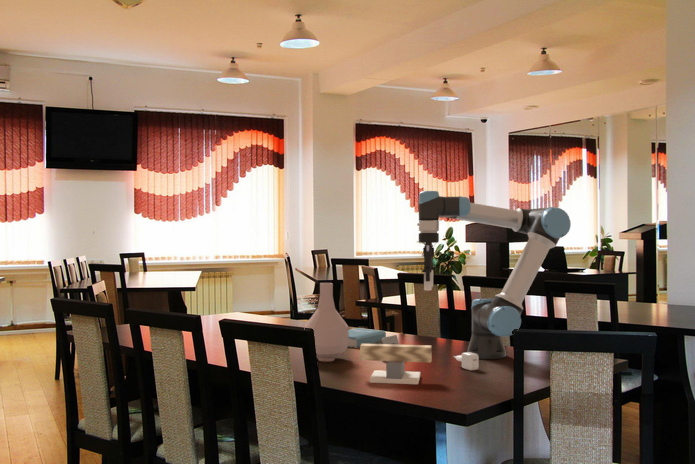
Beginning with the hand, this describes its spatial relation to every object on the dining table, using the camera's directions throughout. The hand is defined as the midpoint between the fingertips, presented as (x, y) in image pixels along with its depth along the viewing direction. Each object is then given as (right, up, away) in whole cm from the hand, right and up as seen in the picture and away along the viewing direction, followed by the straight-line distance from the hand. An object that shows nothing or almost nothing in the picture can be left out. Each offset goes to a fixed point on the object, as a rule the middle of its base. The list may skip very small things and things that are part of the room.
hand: (428, 288), depth 242 cm
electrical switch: (-14, -29, +11) cm, 34 cm away
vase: (-39, -29, +10) cm, 49 cm away
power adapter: (+13, -29, -5) cm, 32 cm away
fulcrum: (-14, -29, -23) cm, 39 cm away
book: (-26, -29, +49) cm, 63 cm away
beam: (-14, -22, -23) cm, 35 cm away
